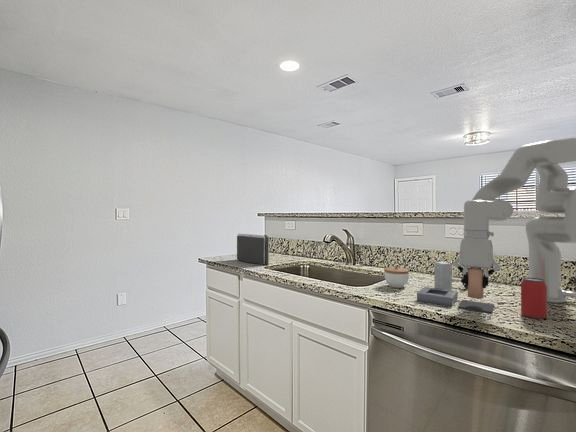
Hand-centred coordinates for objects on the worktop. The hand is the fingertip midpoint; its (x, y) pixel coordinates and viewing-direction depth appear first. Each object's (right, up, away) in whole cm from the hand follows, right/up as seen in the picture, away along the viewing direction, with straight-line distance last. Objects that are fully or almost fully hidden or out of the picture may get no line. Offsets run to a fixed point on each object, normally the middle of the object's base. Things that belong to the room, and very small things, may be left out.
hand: (475, 285), depth 109 cm
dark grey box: (-86, -7, +107) cm, 137 cm away
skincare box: (0, -7, +23) cm, 24 cm away
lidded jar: (-17, -7, +32) cm, 37 cm away
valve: (+8, -7, +30) cm, 32 cm away
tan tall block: (0, -4, 0) cm, 4 cm away
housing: (-9, -7, +10) cm, 15 cm away
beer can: (+13, -8, -9) cm, 18 cm away
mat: (0, -8, 0) cm, 8 cm away
